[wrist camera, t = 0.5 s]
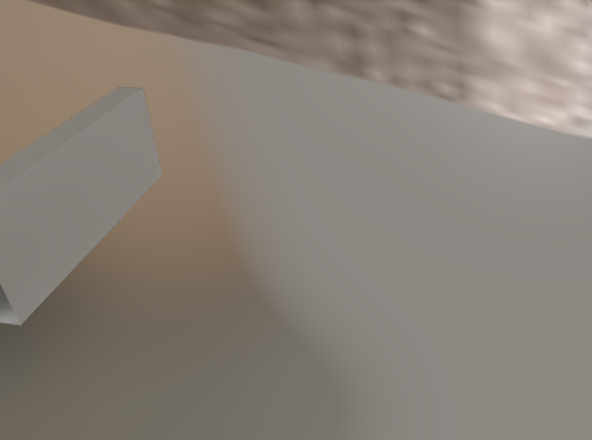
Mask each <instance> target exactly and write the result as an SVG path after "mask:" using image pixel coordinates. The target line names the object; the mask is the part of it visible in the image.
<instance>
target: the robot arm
mask: <svg viewBox="0 0 592 440" xmlns="http://www.w3.org/2000/svg"><path fill="white" fill-rule="evenodd" d="M161 176H162V171H161V167H160V163H159V158H158V153H157V149H156V144H155V140H154V136H153V131H152V127H151V122H150V118H149V114H148V109H147V104H146V100H145V96H144V91H143V88H126V87H118V88H117V89H115V90H114V91H112V92H111V93H109V94H107V95H106V96H104V97H103V98H101V99H100V100H98V101H97V102H95V103H94V104H92V105H91V106H89V107H88V108H86V109H85V110H83V111H81V112H80V113H78V114H77V115H75V116H74V117H72V118H71V119H70V120H68V121H66V122H65V123H63V124H62V125H60V126H59V127H57V128H55V129H54V130H52V131H51V132H49V133H48V134H46V135H45V136H43V137H42V138H40V139H39V140H37V141H36V142H34V143H33V144H31V145H29V146H28V147H27V148H25V149H23V150H22V151H20V152H19V153H17V154H16V155H14V156H13V157H11V158H10V159H8V160H7V161H5V162H4V163H2V164H0V322H1V323H8V324H16V325H21V324H22V323H23V322H24V321H25V320H26V319H27V318H28V317H29V315H30V314H31V313H32V312H33V311H34V310H35V309H36V308H37V307H38V306H39V305H40V304H41V303H42V302H43V301H44V300H45V299H46V297H47V296H48V295H49V294H50V293H51V292H52V291H53V290H54V289H55V288H56V287H57V286H58V285H59V284H60V283H61V282H62V281H63V280H64V278H65V277H66V276H67V275H68V274H69V273H70V272H71V271H72V270H73V269H74V268H75V267H76V266H77V265H78V264H79V263H80V261H81V260H82V259H83V258H84V257H85V256H86V255H87V254H88V253H89V252H90V251H91V250H92V249H93V248H94V247H95V245H96V244H97V243H98V242H99V241H100V240H101V239H102V238H103V237H104V236H105V235H106V234H107V233H108V232H109V231H110V230H111V228H113V226H114V225H115V224H116V223H117V222H118V221H119V220H120V219H121V218H122V217H123V216H124V215H125V214H126V213H127V212H128V211H129V210H130V208H131V207H132V206H133V205H134V204H135V203H136V202H137V201H138V200H139V199H140V198H141V196H143V195H144V194H145V193H146V191H147V190H148V189H149V188H150V187H151V186H152V185H153V184H154V183H155V182H156V181H157V180H158V179H159V178H160V177H161Z"/></svg>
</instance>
